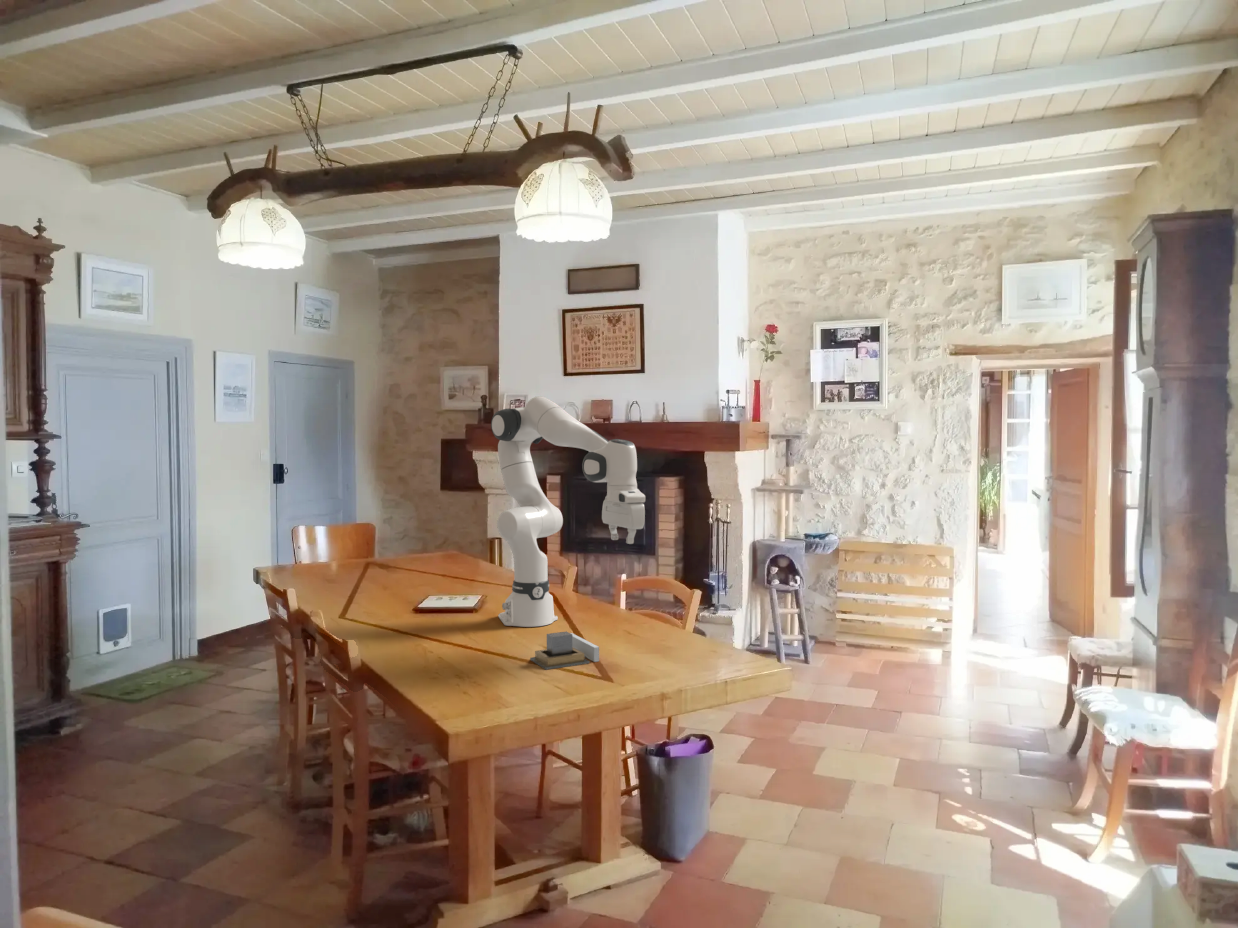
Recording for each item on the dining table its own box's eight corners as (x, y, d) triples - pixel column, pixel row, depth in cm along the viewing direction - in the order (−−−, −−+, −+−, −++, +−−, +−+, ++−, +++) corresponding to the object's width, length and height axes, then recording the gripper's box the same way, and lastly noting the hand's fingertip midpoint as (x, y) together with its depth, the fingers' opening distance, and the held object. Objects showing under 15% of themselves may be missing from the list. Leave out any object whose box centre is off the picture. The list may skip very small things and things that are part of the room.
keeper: (530, 659, 233) (530, 650, 233) (572, 653, 239) (572, 644, 239) (545, 669, 223) (545, 660, 223) (589, 663, 229) (589, 653, 229)
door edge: (567, 646, 246) (567, 633, 246) (571, 646, 247) (571, 632, 247) (594, 661, 231) (594, 647, 230) (599, 661, 231) (599, 646, 231)
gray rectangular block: (546, 658, 232) (546, 633, 231) (566, 656, 234) (566, 631, 234) (552, 662, 228) (552, 637, 228) (572, 659, 231) (572, 634, 231)
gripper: (596, 492, 253) (596, 538, 254) (629, 497, 235) (629, 546, 235) (615, 492, 256) (615, 536, 256) (648, 496, 238) (648, 544, 238)
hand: (622, 541), depth 246 cm, fingers open, 8 cm apart
